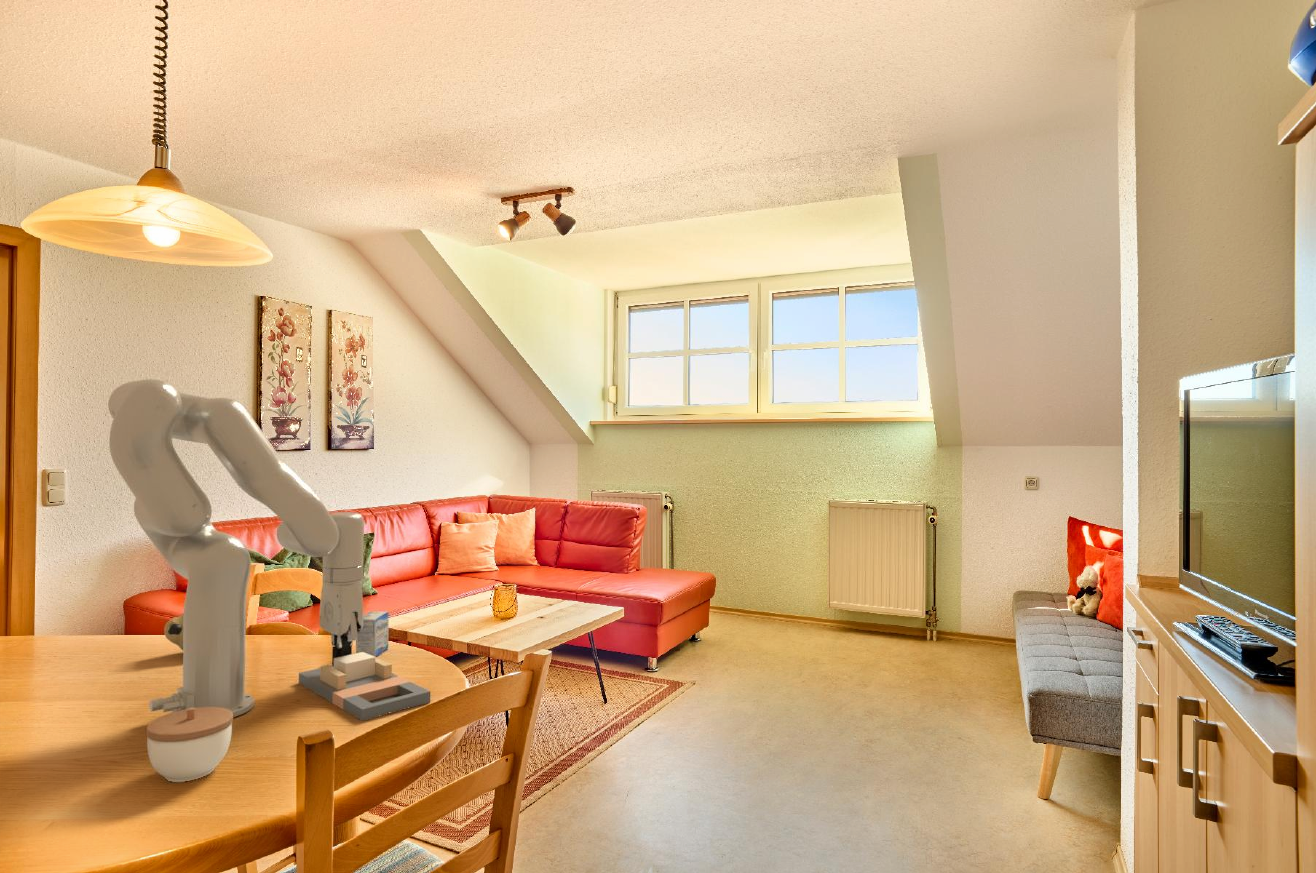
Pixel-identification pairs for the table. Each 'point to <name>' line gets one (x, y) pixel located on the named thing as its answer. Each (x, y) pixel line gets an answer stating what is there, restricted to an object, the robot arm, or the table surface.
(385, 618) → the medicine box
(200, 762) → the lidded jar
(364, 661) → the block
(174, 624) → the toy pig
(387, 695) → the deck
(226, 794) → the table surface
